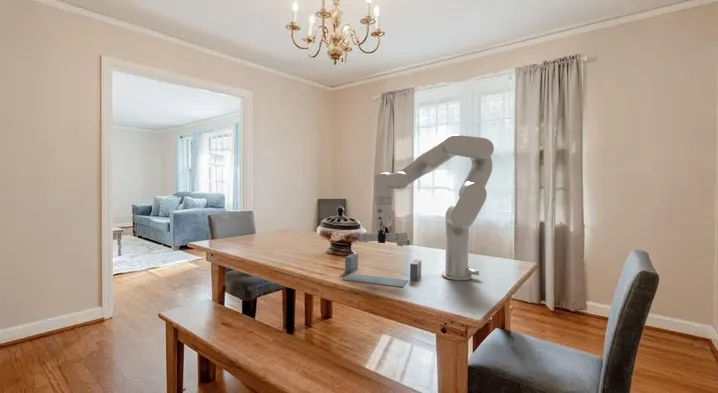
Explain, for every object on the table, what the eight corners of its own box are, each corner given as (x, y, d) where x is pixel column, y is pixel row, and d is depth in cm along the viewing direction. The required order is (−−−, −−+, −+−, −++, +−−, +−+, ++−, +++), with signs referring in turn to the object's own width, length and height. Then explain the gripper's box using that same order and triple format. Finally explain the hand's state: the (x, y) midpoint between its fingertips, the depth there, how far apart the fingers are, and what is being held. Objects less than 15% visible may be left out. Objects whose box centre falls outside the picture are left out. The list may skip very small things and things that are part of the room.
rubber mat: (408, 281, 141) (408, 280, 141) (402, 287, 133) (402, 286, 133) (350, 274, 151) (350, 273, 151) (342, 279, 143) (342, 278, 143)
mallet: (362, 232, 160) (410, 228, 146) (364, 246, 160) (412, 243, 146) (356, 233, 155) (405, 230, 142) (358, 248, 155) (407, 246, 141)
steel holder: (421, 275, 149) (421, 260, 149) (417, 281, 142) (417, 264, 141) (352, 268, 161) (352, 253, 161) (345, 272, 154) (345, 257, 154)
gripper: (385, 202, 140) (386, 245, 141) (396, 199, 156) (397, 238, 157) (368, 202, 143) (369, 244, 144) (381, 199, 159) (381, 237, 160)
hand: (383, 241), depth 151 cm, fingers closed on mallet, 5 cm apart
